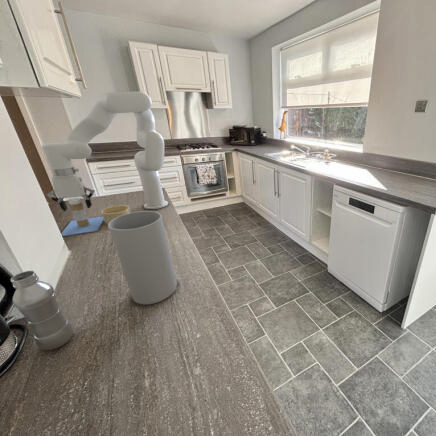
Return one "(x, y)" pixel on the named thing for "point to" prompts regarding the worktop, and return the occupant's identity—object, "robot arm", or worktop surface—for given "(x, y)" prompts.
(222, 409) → the worktop surface
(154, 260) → the cylinder vase
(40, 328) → the plastic bottle
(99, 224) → the cloth
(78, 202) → the sprinkles bottle
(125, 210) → the bowl
